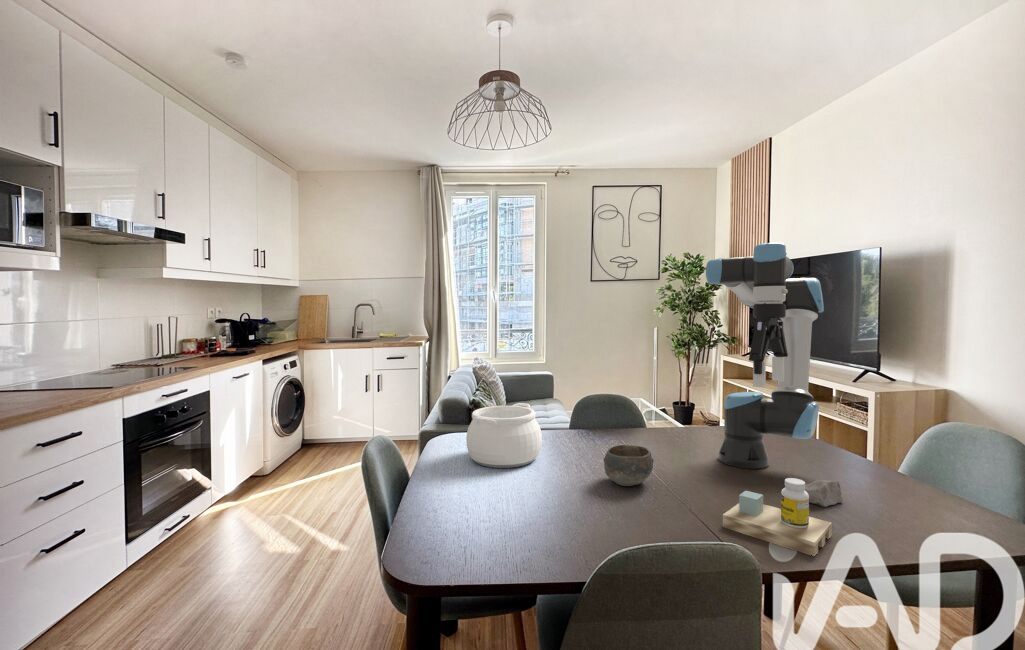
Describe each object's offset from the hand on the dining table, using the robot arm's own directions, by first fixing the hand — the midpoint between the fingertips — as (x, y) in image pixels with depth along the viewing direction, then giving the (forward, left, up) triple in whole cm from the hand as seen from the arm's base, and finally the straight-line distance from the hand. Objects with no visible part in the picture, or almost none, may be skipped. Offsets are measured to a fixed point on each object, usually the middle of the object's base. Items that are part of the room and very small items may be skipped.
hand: (768, 383), depth 125 cm
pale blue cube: (+2, -16, -29) cm, 33 cm away
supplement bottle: (+11, -16, -29) cm, 35 cm away
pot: (-78, -24, -32) cm, 88 cm away
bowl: (-34, -14, -32) cm, 49 cm away
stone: (+10, +10, -32) cm, 35 cm away
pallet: (+7, -16, -32) cm, 36 cm away
